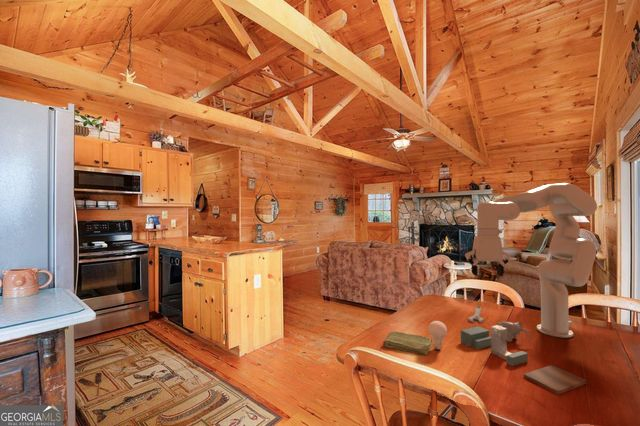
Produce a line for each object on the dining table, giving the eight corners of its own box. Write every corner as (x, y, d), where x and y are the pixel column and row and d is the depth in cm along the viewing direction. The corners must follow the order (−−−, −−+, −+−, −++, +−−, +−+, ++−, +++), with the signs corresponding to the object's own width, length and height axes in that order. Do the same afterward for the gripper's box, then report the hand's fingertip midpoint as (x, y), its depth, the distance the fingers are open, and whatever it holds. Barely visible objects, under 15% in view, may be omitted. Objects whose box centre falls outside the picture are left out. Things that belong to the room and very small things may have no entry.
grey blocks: (478, 338, 127) (478, 326, 127) (529, 361, 107) (529, 347, 107) (460, 342, 123) (460, 330, 123) (510, 366, 104) (510, 352, 104)
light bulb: (437, 354, 113) (437, 325, 113) (425, 347, 119) (424, 319, 119) (451, 351, 116) (450, 322, 115) (437, 344, 122) (437, 317, 121)
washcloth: (428, 357, 112) (428, 349, 112) (381, 348, 120) (381, 340, 120) (432, 343, 124) (432, 335, 123) (389, 336, 131) (389, 328, 131)
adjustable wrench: (476, 308, 166) (476, 305, 166) (489, 310, 162) (489, 307, 162) (467, 322, 145) (467, 318, 145) (482, 325, 142) (482, 321, 142)
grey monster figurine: (498, 333, 132) (496, 316, 132) (531, 339, 124) (529, 320, 125) (494, 341, 124) (493, 323, 125) (530, 347, 117) (528, 328, 117)
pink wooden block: (497, 351, 115) (497, 325, 115) (513, 358, 110) (512, 330, 110) (491, 352, 114) (490, 326, 114) (506, 360, 108) (506, 332, 108)
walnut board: (551, 367, 103) (551, 365, 103) (586, 383, 93) (586, 380, 93) (523, 377, 97) (523, 374, 97) (558, 394, 88) (558, 391, 88)
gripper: (505, 232, 124) (504, 273, 124) (461, 232, 126) (461, 272, 126) (515, 233, 117) (515, 277, 117) (469, 233, 118) (468, 276, 118)
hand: (487, 275), depth 121 cm, fingers open, 9 cm apart
